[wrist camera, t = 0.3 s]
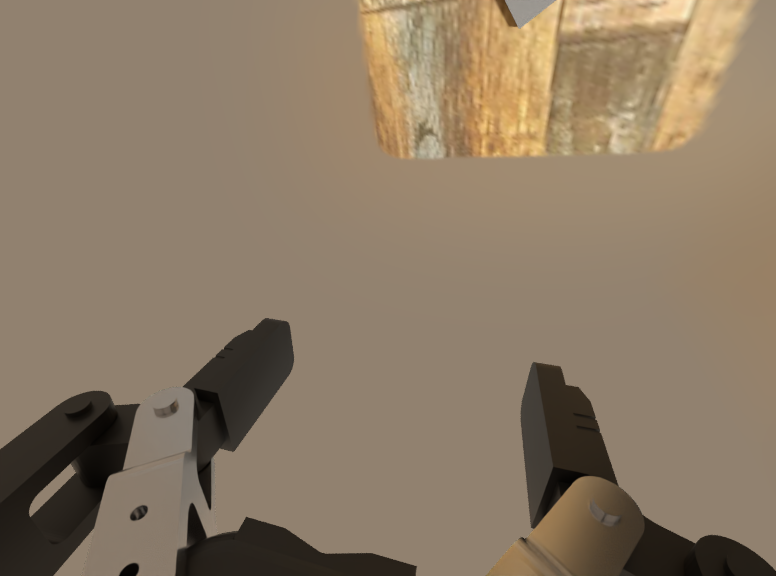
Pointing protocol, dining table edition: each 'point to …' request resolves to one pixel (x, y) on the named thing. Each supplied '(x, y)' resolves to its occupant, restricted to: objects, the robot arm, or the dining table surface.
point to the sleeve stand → (526, 9)
